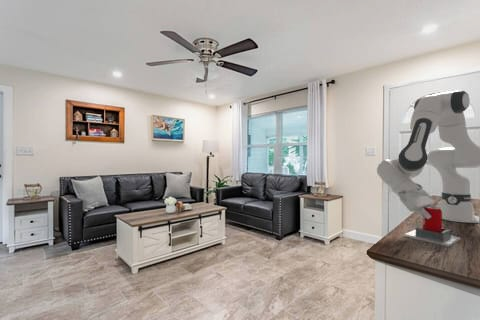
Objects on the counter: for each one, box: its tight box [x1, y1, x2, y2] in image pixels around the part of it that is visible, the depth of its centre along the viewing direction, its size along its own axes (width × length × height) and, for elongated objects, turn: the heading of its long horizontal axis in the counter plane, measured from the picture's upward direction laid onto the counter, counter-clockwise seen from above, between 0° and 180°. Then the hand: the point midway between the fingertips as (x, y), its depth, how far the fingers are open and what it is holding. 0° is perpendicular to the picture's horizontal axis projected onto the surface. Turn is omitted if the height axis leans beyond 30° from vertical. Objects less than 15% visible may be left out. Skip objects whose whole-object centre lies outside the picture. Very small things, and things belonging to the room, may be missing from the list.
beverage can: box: [422, 205, 443, 233], centre depth 102 cm, size 6×6×12 cm
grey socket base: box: [403, 227, 461, 248], centre depth 102 cm, size 14×15×4 cm
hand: (433, 216), depth 102 cm, fingers closed on beverage can, 6 cm apart
